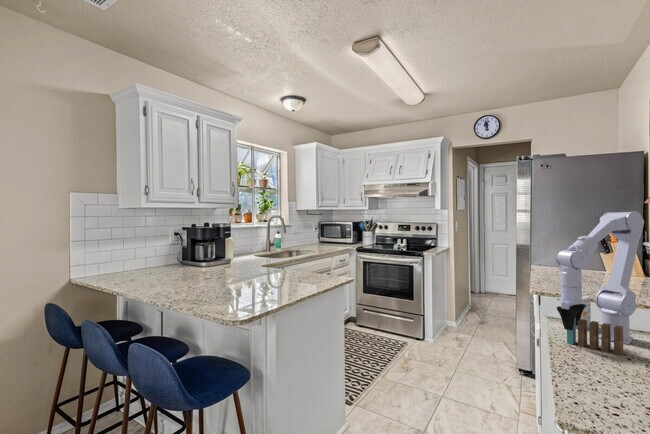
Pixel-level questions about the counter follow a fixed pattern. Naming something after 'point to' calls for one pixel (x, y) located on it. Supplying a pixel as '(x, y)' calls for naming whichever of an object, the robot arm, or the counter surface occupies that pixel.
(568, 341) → the domino
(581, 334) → the domino
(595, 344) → the domino
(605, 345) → the domino
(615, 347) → the domino
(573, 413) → the counter surface
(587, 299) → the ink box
